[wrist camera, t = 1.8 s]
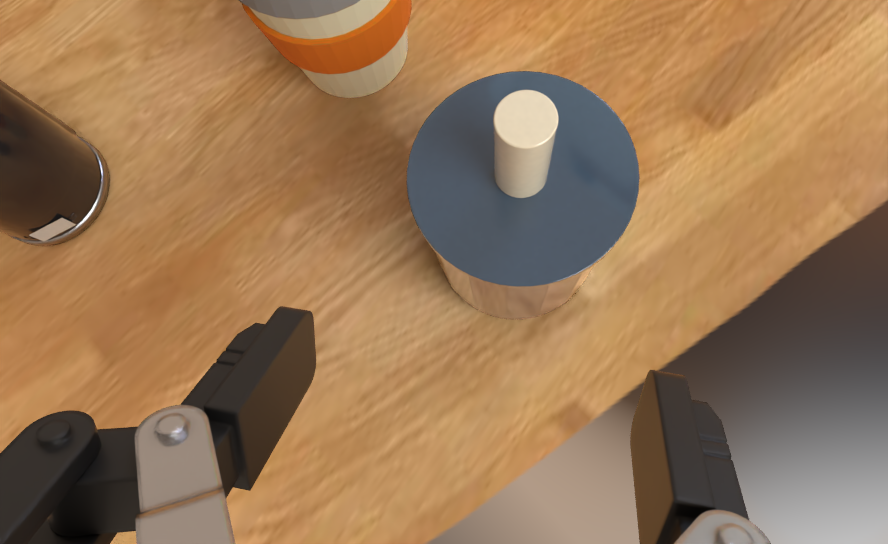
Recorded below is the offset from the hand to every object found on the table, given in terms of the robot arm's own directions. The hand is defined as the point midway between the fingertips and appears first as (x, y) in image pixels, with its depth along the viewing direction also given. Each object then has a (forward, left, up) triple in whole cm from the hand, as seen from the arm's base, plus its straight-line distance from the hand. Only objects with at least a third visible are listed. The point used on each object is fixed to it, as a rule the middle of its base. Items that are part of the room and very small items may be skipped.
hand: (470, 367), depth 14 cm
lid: (-9, +7, -16) cm, 20 cm away
